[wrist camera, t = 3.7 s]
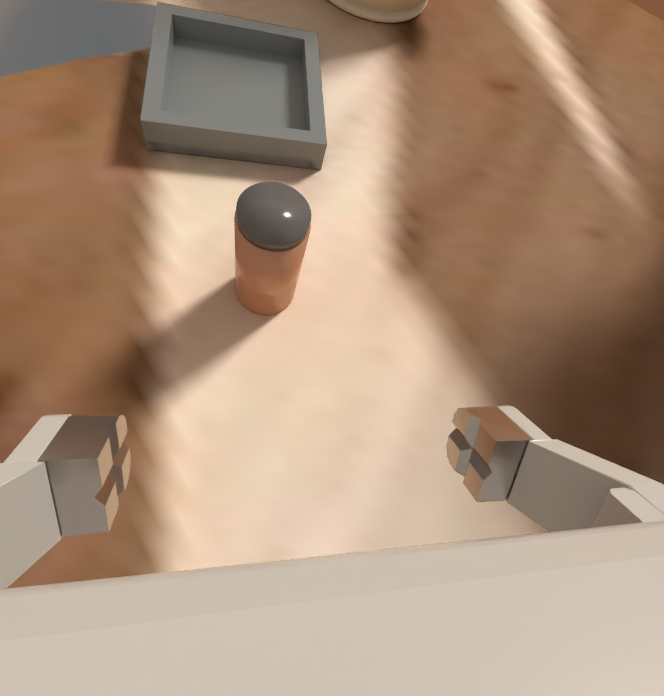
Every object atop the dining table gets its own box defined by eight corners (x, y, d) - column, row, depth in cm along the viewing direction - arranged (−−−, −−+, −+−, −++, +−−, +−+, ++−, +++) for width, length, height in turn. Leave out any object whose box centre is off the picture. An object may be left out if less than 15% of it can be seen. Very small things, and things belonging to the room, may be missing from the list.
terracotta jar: (292, 266, 29) (311, 184, 21) (294, 316, 27) (315, 246, 20) (236, 262, 28) (235, 176, 21) (235, 314, 26) (233, 241, 19)
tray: (312, 61, 37) (317, 32, 35) (320, 169, 33) (326, 144, 30) (162, 35, 34) (157, 1, 32) (147, 149, 30) (139, 120, 27)
